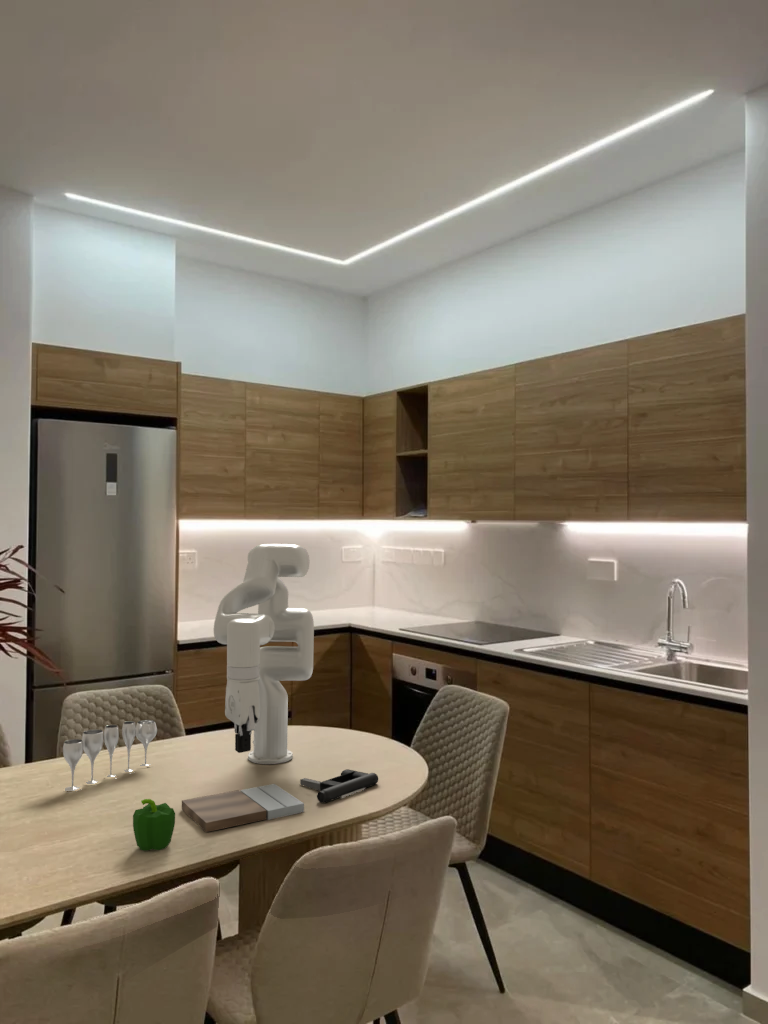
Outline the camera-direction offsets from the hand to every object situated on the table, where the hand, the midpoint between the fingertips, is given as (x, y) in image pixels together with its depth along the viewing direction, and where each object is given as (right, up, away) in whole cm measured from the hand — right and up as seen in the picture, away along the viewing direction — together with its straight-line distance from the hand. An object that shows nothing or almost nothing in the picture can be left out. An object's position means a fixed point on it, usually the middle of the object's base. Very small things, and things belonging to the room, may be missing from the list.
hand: (243, 750), depth 181 cm
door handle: (+20, -15, +16) cm, 30 cm away
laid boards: (+6, -14, +3) cm, 15 cm away
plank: (-4, -13, -3) cm, 14 cm away
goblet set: (-39, -14, +23) cm, 47 cm away
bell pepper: (-14, -13, -21) cm, 29 cm away
